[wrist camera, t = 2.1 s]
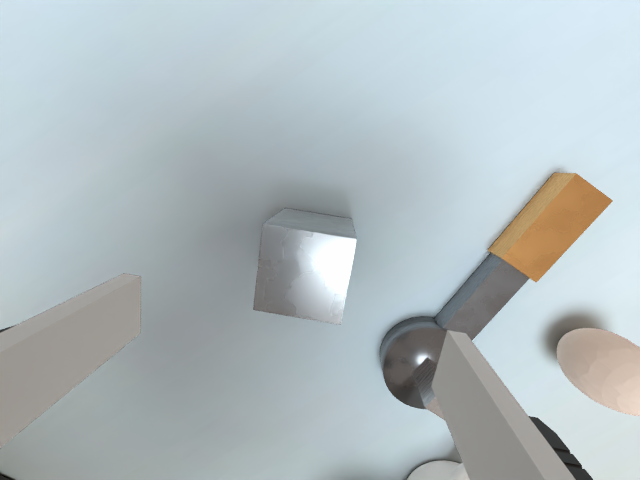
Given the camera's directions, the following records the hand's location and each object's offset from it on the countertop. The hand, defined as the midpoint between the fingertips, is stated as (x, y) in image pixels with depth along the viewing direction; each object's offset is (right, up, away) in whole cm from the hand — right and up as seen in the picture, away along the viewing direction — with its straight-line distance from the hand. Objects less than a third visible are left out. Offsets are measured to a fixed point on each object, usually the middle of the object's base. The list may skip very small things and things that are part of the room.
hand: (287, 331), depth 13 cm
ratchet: (+16, -1, +15) cm, 21 cm away
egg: (+25, -5, +15) cm, 30 cm away
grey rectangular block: (+1, +3, +15) cm, 15 cm away
